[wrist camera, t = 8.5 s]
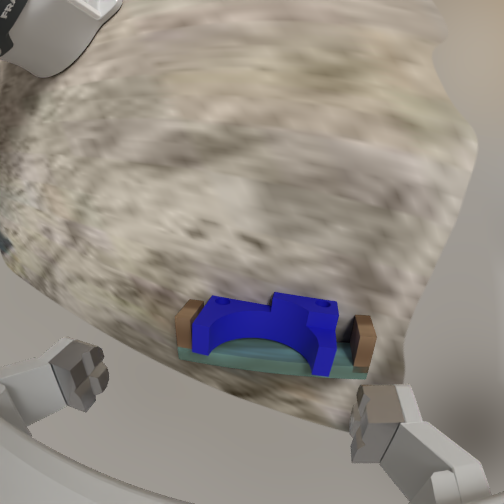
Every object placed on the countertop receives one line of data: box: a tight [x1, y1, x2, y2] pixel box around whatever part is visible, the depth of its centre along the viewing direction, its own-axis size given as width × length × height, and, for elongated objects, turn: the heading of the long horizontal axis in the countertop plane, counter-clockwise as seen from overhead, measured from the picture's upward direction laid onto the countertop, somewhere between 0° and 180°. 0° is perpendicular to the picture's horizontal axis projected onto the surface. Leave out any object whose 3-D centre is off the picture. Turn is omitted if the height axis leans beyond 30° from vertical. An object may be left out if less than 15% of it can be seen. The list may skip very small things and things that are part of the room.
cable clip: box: [192, 292, 339, 377], centre depth 28 cm, size 12×4×6 cm, turn 84°
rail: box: [175, 299, 377, 379], centre depth 29 cm, size 5×18×4 cm, turn 88°
